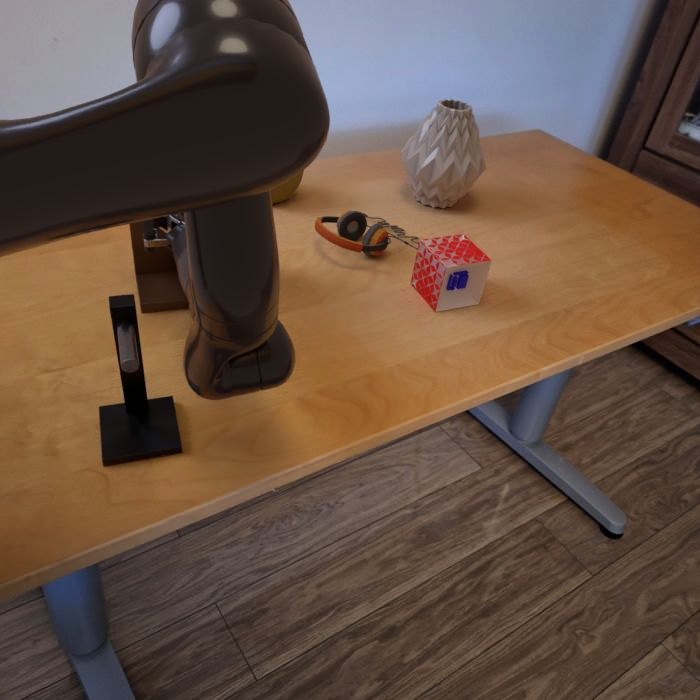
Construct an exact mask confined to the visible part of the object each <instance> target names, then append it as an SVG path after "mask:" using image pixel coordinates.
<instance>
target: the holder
mask: <svg viewBox="0 0 700 700" xmlns="http://www.w3.org/2000/svg"><path fill="white" fill-rule="evenodd" d="M108 306H109V308H108V309H109V313H110V319H111V326H112V332H113V333H112V334H113V338H114V345H115V350H116V357H117V363H118V370H119V375H120V377H119V378H120V384H121V389H122V395H123V401H124V402H121V403H120V402H119V403H113V404H107V405H99V406H98V415H99V416H98V418H99V432H100V449H101V451H100V452H101V462H102V466H103V467H109V466H115V465H119V464H125V463H130V462H136V461H142V460H143V461H144V460H149V459H154V458H160V457H165V456H171V455H177V454H182V453H183V445H182V439H181V434H180V428H179V423H178V418H177V412H176V406H175V401H174V396H173V395H168V396H161V397H155V398H148V392H147V383H146V376H145V368H144V359H143V353H142V344H141V337H140V331H139V321H138V312H137V306H136V298H135V294H134V293H130V294H128V293H127V294H120V295H119V294H118V295H109V296H108Z"/></svg>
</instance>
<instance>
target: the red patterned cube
mask: <svg viewBox="0 0 700 700" xmlns="http://www.w3.org/2000/svg"><path fill="white" fill-rule="evenodd" d="M418 243H419V244H417V245H418V246H417V248H418V250H417V249H416V255H415V260H414V266H413V270H412V274H411V279H410V285H411V286H412V287H413V289H415V291H416V292H417V293H418V294H419V295H420V297H421V298H422V299H423V300H424V301H425V302H426V303H427V305H428V306H429V307H430V308H431V309H432V310H433V311H434V312H435V313H439V312H443V311H449V310H455V309H461V308H466V307H470V306H477V305H480V303H481V299H482V295H483V292H484V289H485V285H486V283H487V282H486V281H487V279H488V277H489V276H488V275H489V272H490V269H491V265H492V262H493V260H492V259H491V258H490V257H489V256H488V255H487V254H486V253H485V252H484V251H483V250H482V249H481V248H479V247H478V246H477V245H476V244H475V243H474V242H473V241H472V240H471V239H470V238H469V237H468V236H467V235H465V234H464V233H463V234H462V233H461V234H454V235H446V236H439V237H437V236H436V237H431V238H422V239H419V242H418Z"/></svg>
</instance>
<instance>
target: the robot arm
mask: <svg viewBox="0 0 700 700" xmlns="http://www.w3.org/2000/svg"><path fill="white" fill-rule="evenodd" d="M131 29H132V30H131V36H130V38H131V40H130V41H131V52H132V54H131V55H132V62H133V63H132V64H133V69H134V74H135V80H136V82H135V83H133V84H130V85H129V86H126V87H123V88H121V89H120V90H117V91H114V92H112V93H110V94H109V93H108V94H106V95H105V96H102V97H98V98H95V99H93V100H90V101H86V102H83V103H80V104H76V105H74V106H70V107H67V108H63V109H60V110H58V111H54V112H51V113H46V114H42V115H37V116H33V117H25V118H16V119H15V118H14V119H0V259H1V258H4V257H7V256H11V255H15V254H18V253H21V252H22V253H23V252H25V251H28V250H33V249H36V248H40V247H43V246H46V245H50V244H53V243H57V242H60V241H64V240H68V239H72V238H75V237H78V236H83V235H86V234H90V233H94V232H98V231H103V230H107V229H108V230H109V229H112V228H117V227H121V226H127V225H129V224H131V223H136V222H141V221H143V237H144V246H145V251H146V252H149V253H151V252H154V251H155V247H157V246H167V247H168V248H169V249H170V250H171V251H172V252H173V254H174V258H175V262H176V266H177V271H178V279H179V282H180V284H181V286H182V289H183V291H184V293H185V295H186V298H187V302H188V306H189V308H188V309H189V313H190V317H191V321H192V323H191V326H190V328H189V330H188V333H187V335H186V339H185V343H184V348H183V356H182V366H183V372H184V377H185V379H186V382H187V384H188V386H189V388H190V389H191V390H192V391H193V393H195V394H196V395H197V396H199V397H200V398H202V399H205V400H208V401H222V400H227V399H231V398H236V397H240V396H244V395H249V394H253V393H258V392H260V391H261V392H263V391H267V390H272V389H275V388H278V387H281V386H283V385H284V384H285V383H287V382H288V381H289V380H290V378H291V377H292V375H293V373H294V371H295V367H296V349H295V346H294V343H293V339H292V338H291V336H290V334H289V332H288V331H287V329H286V327H285V325H283V323H282V322H281V321H280V320H279V309H280V291H281V268H280V267H281V265H280V257H279V248H278V246H279V245H278V239H277V238H278V237H277V232H276V231H277V230H276V224H275V217H274V209H273V207H274V206H273V204H272V199H271V189H273V188H275V187H277V186H279V185H282V184H283V183H285V182H287V181H289V180H291V179H293V178H294V177H296V176H297V175H298V174H300V173H301V172H302V171H303V170H304V171H305V170H306V169H307V168H308V167H310V166H311V164H312V163H313V162H314V161H315V160H316V159H317V157H318V156H319V155H320V153H321V151H322V149H323V148H324V147H325V144H326V143H327V140H328V135H329V131H330V127H331V126H330V125H331V114H330V109H329V102H328V99H327V96H326V93H325V90H324V88H323V85H322V82H321V79H320V76H319V74H318V70H317V67H316V65H315V63H314V60H313V58H312V56H311V52H310V50H309V47H308V44H307V42H306V39H305V36H304V33H303V30H302V28H301V24H300V21H299V20H298V17H297V15H296V13H295V11H294V9H293V7H292V4H291V3H290V1H289V0H137V3H136V6H135V9H134V12H133V18H132V28H131ZM180 213H184V217H183V216H182V215H180ZM157 228H160V229H161V230H162V231H164V232H165V233H167V235H166V236H163V235H161V233H160V232H158V230H157Z"/></svg>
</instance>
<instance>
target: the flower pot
mask: <svg viewBox="0 0 700 700" xmlns="http://www.w3.org/2000/svg"><path fill="white" fill-rule="evenodd" d="M304 171H305V169H304V170H303V171H302V172H301V173H300V174H298V175H297V176H296V177H294V178H293V179H291V180H289V181H287V182H285V183H283V184H282V185H279V186H277V187H275V188H273V189H271V199H272V205H275V204H279V203H282V202H284V201H287V200H289V199H291V198H292V197H293V196H294V194H295V193H296V192H297V190H298V188H299V187H300V185H301V183H302V179H303V177H304Z"/></svg>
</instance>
